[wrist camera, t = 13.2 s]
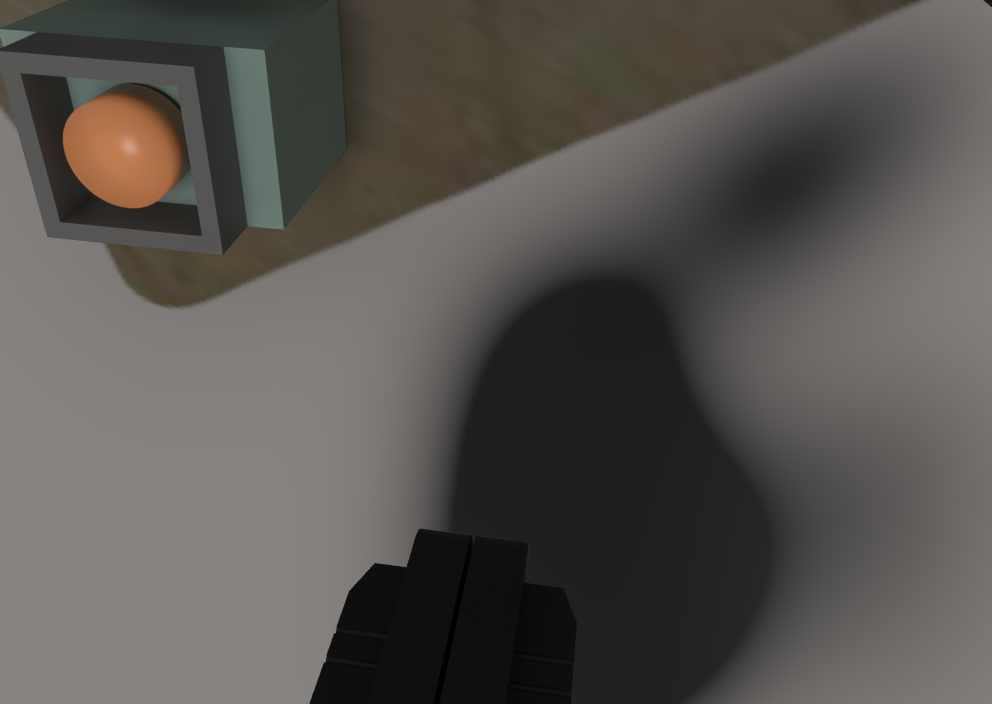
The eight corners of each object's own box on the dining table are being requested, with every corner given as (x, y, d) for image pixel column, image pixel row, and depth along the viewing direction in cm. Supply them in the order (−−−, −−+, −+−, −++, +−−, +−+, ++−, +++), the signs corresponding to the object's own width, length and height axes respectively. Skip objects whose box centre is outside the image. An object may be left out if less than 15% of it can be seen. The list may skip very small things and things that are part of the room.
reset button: (80, 79, 32) (50, 96, 30) (185, 88, 32) (160, 106, 30) (104, 181, 34) (77, 203, 32) (202, 191, 34) (179, 213, 32)
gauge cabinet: (110, -22, 39) (-59, 46, 30) (337, -6, 38) (237, 70, 29) (140, 129, 43) (-1, 232, 34) (346, 148, 42) (261, 259, 33)
